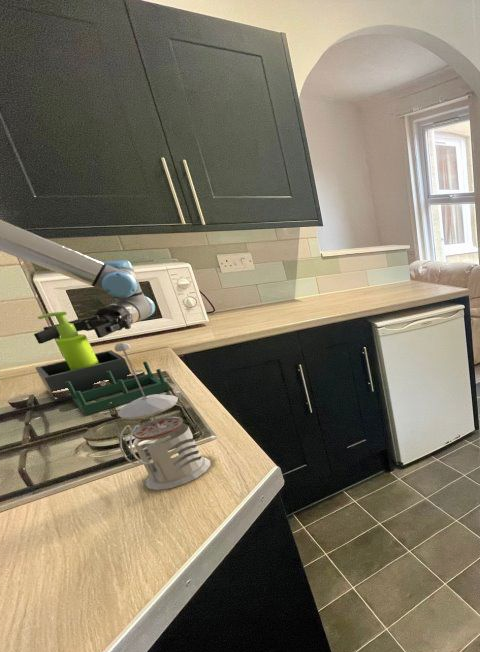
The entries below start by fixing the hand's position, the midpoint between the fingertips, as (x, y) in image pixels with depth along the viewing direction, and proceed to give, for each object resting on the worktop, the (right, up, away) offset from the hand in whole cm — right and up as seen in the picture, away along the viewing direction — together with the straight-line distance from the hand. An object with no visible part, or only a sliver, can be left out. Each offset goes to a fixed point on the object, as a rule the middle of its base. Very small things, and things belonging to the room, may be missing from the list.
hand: (67, 335), depth 112 cm
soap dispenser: (+1, -13, +5) cm, 14 cm away
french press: (+58, -30, -36) cm, 75 cm away
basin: (+1, -13, +6) cm, 15 cm away
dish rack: (+17, -16, -2) cm, 24 cm away
